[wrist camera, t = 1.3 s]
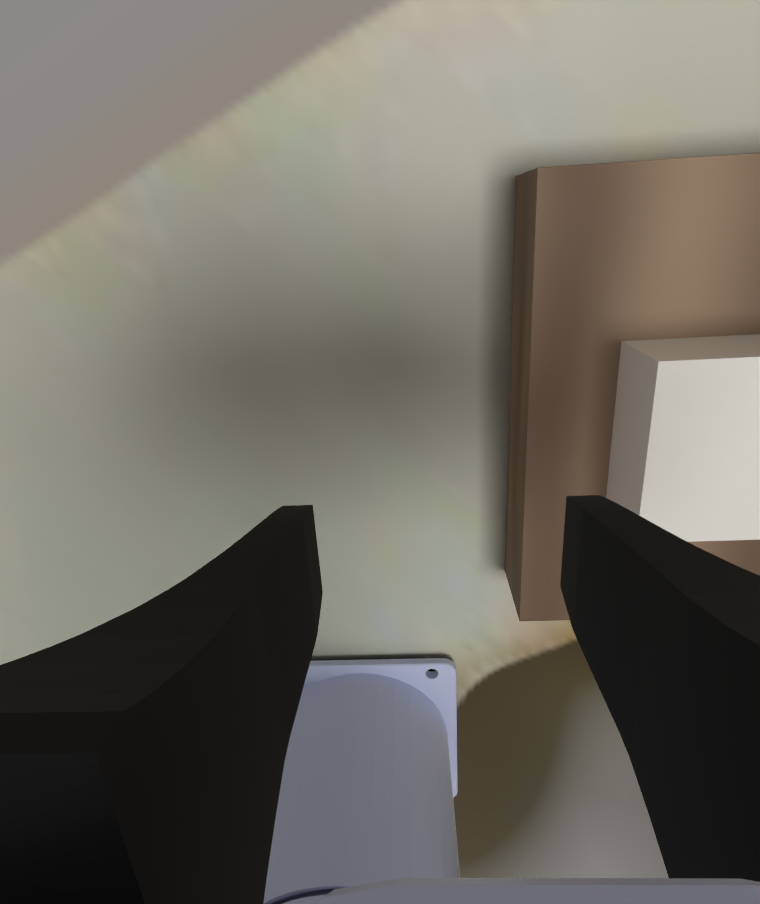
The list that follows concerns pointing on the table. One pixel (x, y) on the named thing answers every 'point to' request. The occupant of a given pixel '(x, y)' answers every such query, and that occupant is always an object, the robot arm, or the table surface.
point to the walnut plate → (611, 326)
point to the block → (689, 436)
